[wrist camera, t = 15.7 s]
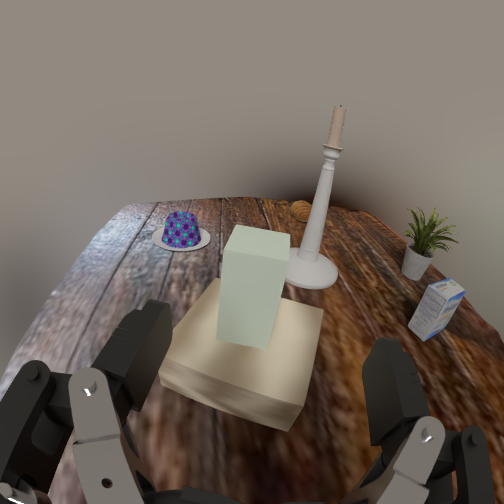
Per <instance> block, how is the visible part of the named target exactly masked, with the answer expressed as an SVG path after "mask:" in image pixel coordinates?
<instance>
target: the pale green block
mask: <svg viewBox="0 0 504 504" xmlns="http://www.w3.org/2000/svg"><path fill="white" fill-rule="evenodd" d="M289 255H290V234H285V233H280V232H275V231H269V230H264V229H258V228H253V227H247V226H242V225H236V226H235V228H234V230H233V232H232V234H231V236H230V238H229V240H228V242H227V244H226V246H225V248H224V254H223V264H222V275H221V285H220V297H219V308H218V320H217V333H216V340H221V341H225V342H230V343H235V344H240V345H245V346H250V347H255V348H261V349H266V350H267V347H268V343H269V340H270V336H271V332H272V328H273V325H274V321H275V317H276V313H277V309H278V305H279V301H280V297H281V293H282V289H283V285H284V281H285V277H286V273H287V269H288V265H289Z"/></svg>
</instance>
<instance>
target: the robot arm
mask: <svg viewBox="0 0 504 504" xmlns="http://www.w3.org/2000/svg"><path fill="white" fill-rule="evenodd" d="M172 336H173V330H172V320H171V310H170V305H169V303H165V302H161V301H157V300H152V299H150V300H148V301H147V303H146V304H145V306H144V307H143V309H142V310H137V309H135V310H133V311H132V312H130V313H129V314H127V315H126V316H125V317H124V318H123V319H122V321H121V322H120V324H119V325H118V328H116V330H115V331H114V332H113V335H112V336H111V337H110V338H109V340H108V341H107V343H106V344H105V346H104V347H103V349H102V350H101V352H100V353H99V355H98V357H97V358H96V360H95V361H94V363H93V364H92V365H91V367H88V368H82V369H80V370H78V371H76V372H75V373H74V374H64V373H56V372H51V371H50V369H49V368H48V366H47V365H46V364H45V363H44V362H42V361H39V360H33V361H29V362H27V363H26V364H24V365H23V366H22V368H21V369H20V371H19V372H18V374H17V375H16V377H15V378H14V380H13V382H12V383H11V385H10V387H9V388H8V390H7V391H6V393H5V395H4V397H3V398H2V400H1V402H0V504H52V502H51V500H50V498H49V497H48V496H47V495H48V492H49V489H50V486H51V483H52V480H53V478H54V475H55V472H56V470H57V467H58V464H59V462H60V459H61V457H62V454H63V452H64V449H65V447H66V445H67V442H68V440H69V438H70V435H71V433H72V431H73V428H75V433H76V442H74V443H73V446H72V449H73V455H74V460H75V464H76V468H77V471H78V475H79V478H80V482H81V485H82V488H83V491H84V494H85V497H86V500H87V503H88V504H244V503H241V502H238V501H236V500H233V499H230V498H228V497H225V496H223V495H221V494H218V493H213V492H208V491H203V490H199V489H195V488H191V487H187V486H183V490H165V491H159V492H158V491H157V489H156V487H155V485H154V483H153V480H152V478H151V476H150V474H149V472H148V470H147V468H146V466H145V465H144V463H143V461H142V458H141V456H140V453H139V451H138V448H137V445H136V443H135V440H134V437H133V434H132V431H131V428H130V425H129V422H128V419H127V416H128V414H129V412H130V410H131V409H132V410H135V411H137V412H140V411H141V409H142V406H143V404H144V402H145V400H146V397H147V395H148V393H149V391H150V389H151V386H152V384H153V382H154V380H155V377H156V375H157V373H158V371H159V369H160V367H161V364H162V362H163V360H164V358H165V356H166V354H167V351H168V349H169V347H170V345H171V341H172ZM417 373H418V372H417V369H416V366H415V362H414V361H413V359H412V358H411V357H410V355H409V354H408V353H407V352H403V349H402V346H401V343H400V341H399V339H397V338H384V337H380V338H379V339H378V340H377V342H376V343H375V345H374V347H373V349H372V350H371V352H370V354H369V355H368V357H367V359H366V360H365V362H364V365H363V369H362V379H363V386H364V392H365V399H366V406H367V414H368V422H369V431H370V440H371V446H380V445H381V447H382V451H381V452H380V453H379V454H378V455H377V457H376V458H375V460H374V461H373V463H372V464H371V466H370V467H369V469H368V470H367V472H366V473H365V474H364V476H363V477H362V478H361V480H360V481H359V483H358V484H357V485H356V486H355V488H354V489H353V490H352V491H351V492H350V493H348V494H347V495H346V496H345V497H344V498H343V499H342V500H341V501H340V502H339V503H338V504H495V496H494V486H493V478H492V470H491V464H490V458H489V453H488V448H487V443H486V439H485V435H484V433H483V431H482V430H481V429H480V428H479V427H477V426H475V425H470V426H468V427H466V428H465V429H464V430H463V431H461V432H456V431H451V430H446V429H444V427H443V425H442V423H441V422H440V421H439V420H438V419H436V418H434V417H431V416H430V413H429V409H428V405H427V402H426V398H425V395H424V391H423V388H422V384H421V383H420V378H419V375H417ZM455 470H456V477H457V487H458V495H457V498H456V499H455V501H454V498H453V484H452V474H451V472H453V471H455ZM109 487H110V488H109ZM324 503H325V502H288V503H282V504H324Z"/></svg>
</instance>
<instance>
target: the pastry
mask: <svg viewBox="0 0 504 504" xmlns="http://www.w3.org/2000/svg"><path fill="white" fill-rule="evenodd" d="M311 208H312V205H310V204H308V203H307V202H305V201H296V202H295V203H293V204H292V206H291V209H290V211H291V214H292V215H293V216H294V217H295V218H296V219H297V220H299V221H301V222H308V219H309V215H310V212H311Z"/></svg>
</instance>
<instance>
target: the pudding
mask: <svg viewBox="0 0 504 504" xmlns="http://www.w3.org/2000/svg"><path fill="white" fill-rule="evenodd" d="M162 235H163V236H162ZM161 237H162V241H161ZM152 240H153V241H154V243H155V244H156V245H158V246H160V247H162V248H164V249H168V250H173V251H190V250H195V249H199V248H201V247H204V246H205V245H207V244H208V243H209V241H210V235H209V233H208V232H207V231H205V230H204V229H202V228H199V226H198V222H197V218H196V217H195V216H194V214H192V213H188V212H184V211H183V212H174V213H171V214H169V215H168V217H167V220H166V224H165V227H162V228H160V229H158V230H157V231H155V232H154V233H153V235H152ZM199 241H201V242H200V243H199V244H198V242H199ZM163 242H164V243H167V245H168V246H167V245H165V244H164V243H163ZM197 244H198V245H197ZM169 246H170V247H169ZM189 246H194V247H190V248H187V247H189ZM173 247H178V248H173Z"/></svg>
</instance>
